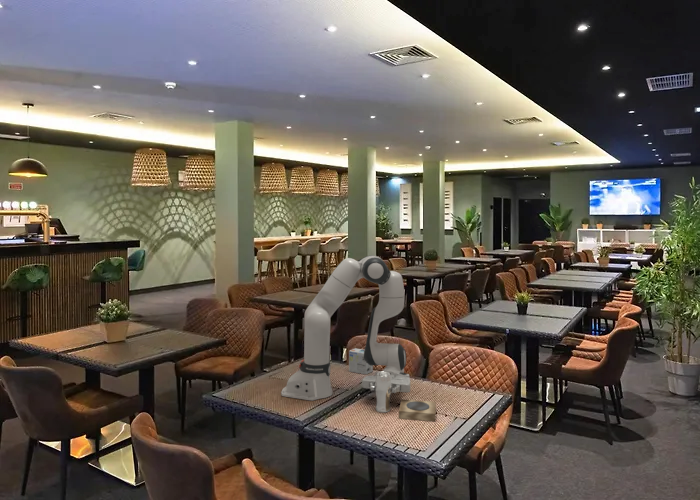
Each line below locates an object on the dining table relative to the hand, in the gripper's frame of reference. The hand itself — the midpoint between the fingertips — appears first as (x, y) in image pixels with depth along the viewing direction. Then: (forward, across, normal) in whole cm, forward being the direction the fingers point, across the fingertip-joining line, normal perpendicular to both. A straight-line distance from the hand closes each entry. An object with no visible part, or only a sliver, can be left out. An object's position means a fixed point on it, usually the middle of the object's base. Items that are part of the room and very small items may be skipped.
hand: (382, 390), depth 206 cm
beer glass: (-1, 0, +9) cm, 9 cm away
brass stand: (-1, +14, +8) cm, 17 cm away
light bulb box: (-48, -21, +9) cm, 53 cm away
